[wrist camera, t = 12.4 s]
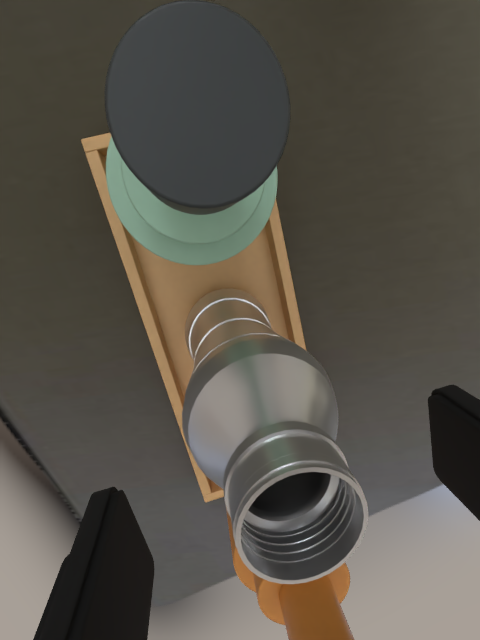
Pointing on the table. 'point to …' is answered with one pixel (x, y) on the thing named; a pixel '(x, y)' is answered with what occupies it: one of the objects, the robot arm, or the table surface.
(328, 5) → the table surface
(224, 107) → the sage bottle
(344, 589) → the amber bottle
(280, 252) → the tray
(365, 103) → the table surface
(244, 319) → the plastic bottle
